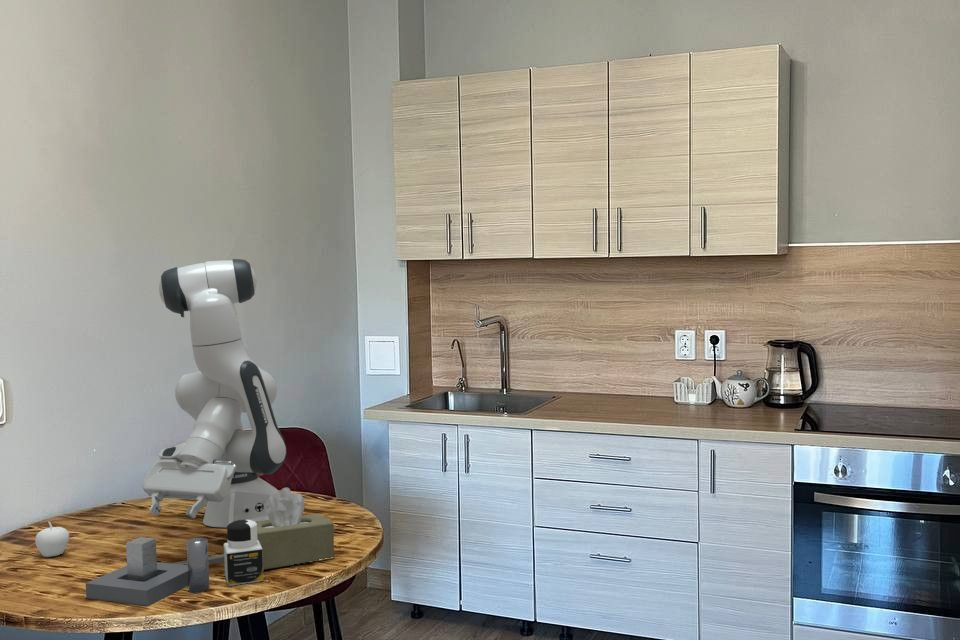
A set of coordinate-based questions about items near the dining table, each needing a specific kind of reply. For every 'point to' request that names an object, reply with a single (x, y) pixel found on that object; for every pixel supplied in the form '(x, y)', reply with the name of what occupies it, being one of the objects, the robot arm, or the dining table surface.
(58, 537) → the plain white apple
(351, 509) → the dining table surface
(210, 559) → the adjustable wrench
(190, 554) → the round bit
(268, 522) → the tissue box
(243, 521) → the medicine bottle
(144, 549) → the square bit
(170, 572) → the socket block
